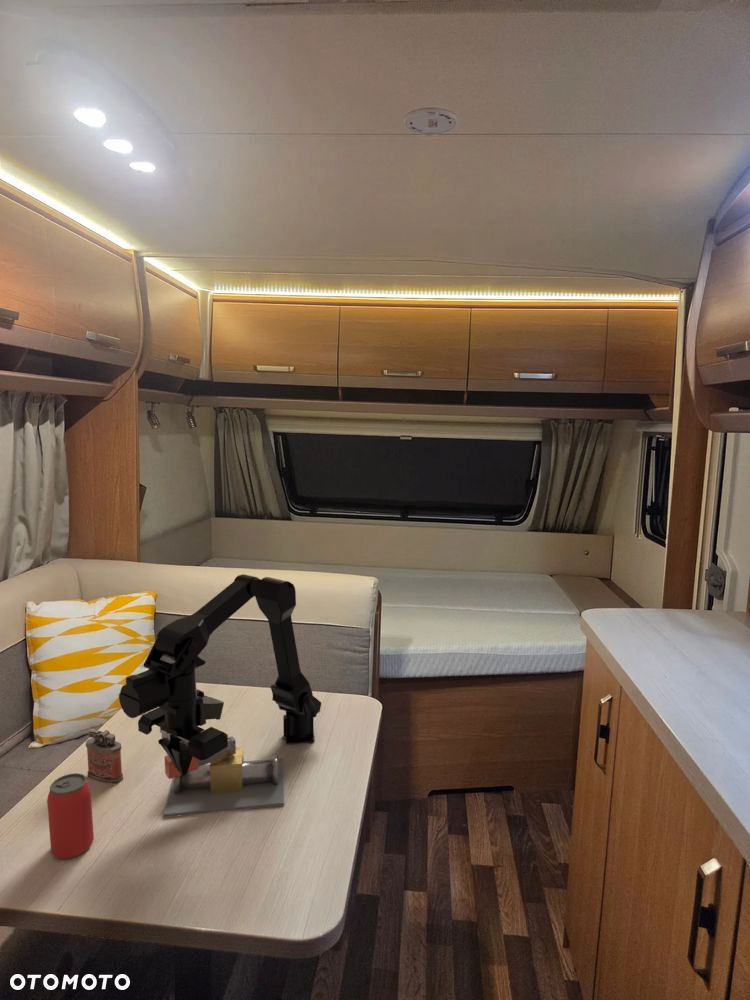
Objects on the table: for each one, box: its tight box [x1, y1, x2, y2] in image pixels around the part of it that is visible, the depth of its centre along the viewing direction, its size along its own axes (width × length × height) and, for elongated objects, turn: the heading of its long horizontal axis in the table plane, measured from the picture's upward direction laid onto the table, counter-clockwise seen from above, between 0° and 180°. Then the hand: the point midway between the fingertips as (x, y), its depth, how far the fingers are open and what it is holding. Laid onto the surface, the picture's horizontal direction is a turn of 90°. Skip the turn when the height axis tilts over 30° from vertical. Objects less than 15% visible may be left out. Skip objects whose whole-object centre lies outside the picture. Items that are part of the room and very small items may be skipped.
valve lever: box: [164, 735, 237, 780], centre depth 114 cm, size 13×2×3 cm, turn 127°
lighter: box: [85, 728, 124, 785], centre depth 120 cm, size 8×3×10 cm, turn 71°
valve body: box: [173, 746, 279, 795], centre depth 118 cm, size 20×6×7 cm, turn 100°
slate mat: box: [163, 757, 285, 818], centre depth 118 cm, size 22×15×1 cm
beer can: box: [46, 773, 95, 860], centre depth 101 cm, size 7×7×12 cm
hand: (184, 774), depth 109 cm, fingers closed
